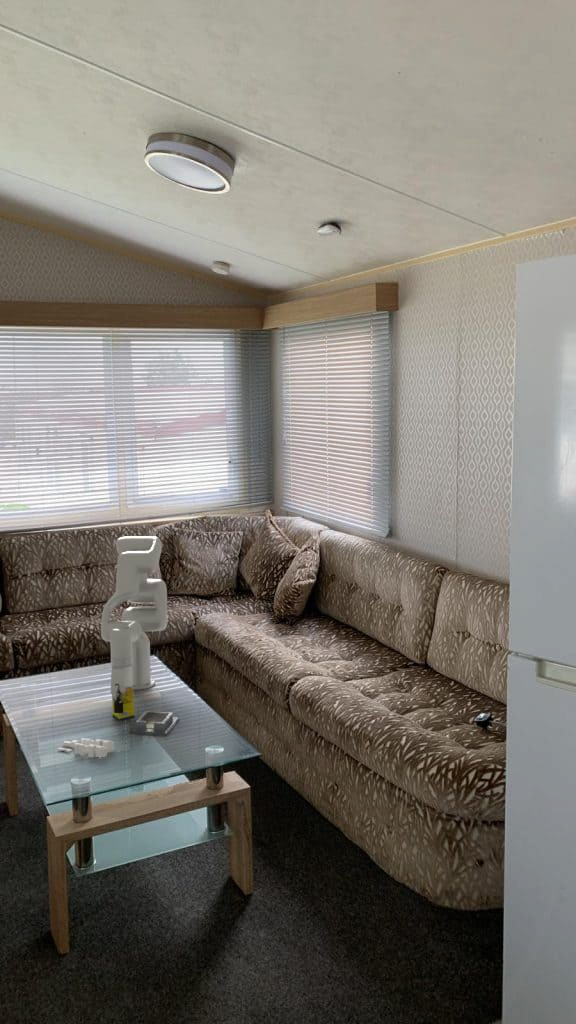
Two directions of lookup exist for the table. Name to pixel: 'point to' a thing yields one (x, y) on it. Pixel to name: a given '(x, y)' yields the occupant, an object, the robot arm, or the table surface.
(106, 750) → the modular blocks
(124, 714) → the supplement box
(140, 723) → the grey square tray
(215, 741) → the table surface
